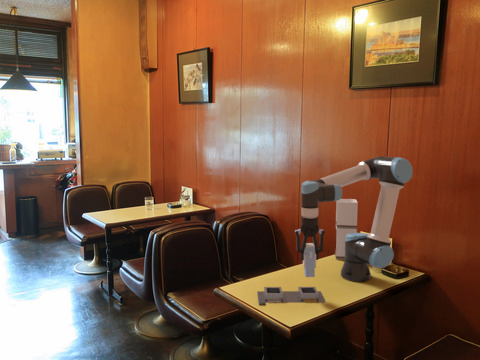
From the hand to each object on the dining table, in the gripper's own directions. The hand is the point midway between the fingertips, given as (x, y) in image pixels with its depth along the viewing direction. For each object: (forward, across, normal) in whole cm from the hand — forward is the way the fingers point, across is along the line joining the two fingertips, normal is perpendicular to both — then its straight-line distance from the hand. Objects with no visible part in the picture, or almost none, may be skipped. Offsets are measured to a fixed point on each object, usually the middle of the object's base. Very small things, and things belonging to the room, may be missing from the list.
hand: (309, 266), depth 176 cm
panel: (+15, +8, 0) cm, 17 cm away
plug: (+4, 0, 0) cm, 4 cm away
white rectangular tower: (+16, -32, -58) cm, 68 cm away
